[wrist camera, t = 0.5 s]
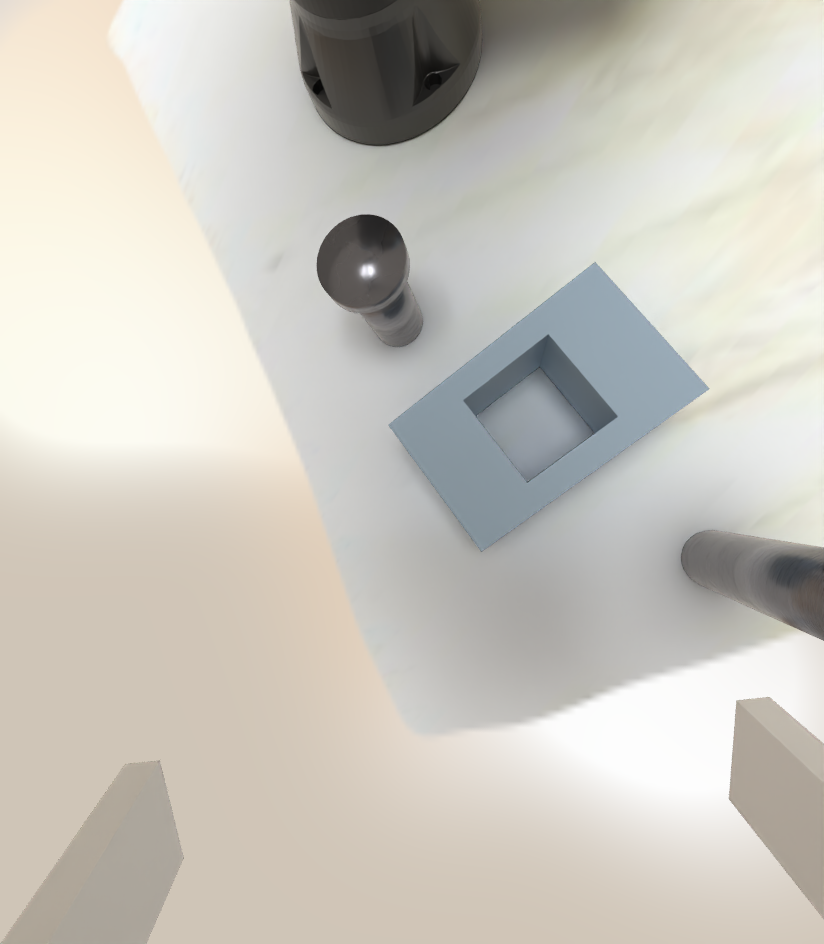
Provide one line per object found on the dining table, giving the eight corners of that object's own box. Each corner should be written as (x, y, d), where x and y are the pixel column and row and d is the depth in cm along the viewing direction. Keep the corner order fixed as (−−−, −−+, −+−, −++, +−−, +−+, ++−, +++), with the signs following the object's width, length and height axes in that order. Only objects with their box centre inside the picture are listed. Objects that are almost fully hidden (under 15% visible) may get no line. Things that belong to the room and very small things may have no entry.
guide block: (577, 309, 34) (595, 262, 27) (666, 411, 32) (709, 388, 25) (410, 438, 36) (388, 424, 29) (486, 541, 34) (481, 551, 28)
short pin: (371, 287, 37) (324, 213, 28) (437, 291, 36) (412, 215, 26) (361, 353, 37) (310, 302, 28) (427, 359, 36) (398, 308, 26)
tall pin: (674, 513, 32) (943, 537, 12) (763, 525, 31) (1218, 576, 11) (663, 591, 32) (919, 743, 12) (753, 607, 31) (1194, 803, 11)
